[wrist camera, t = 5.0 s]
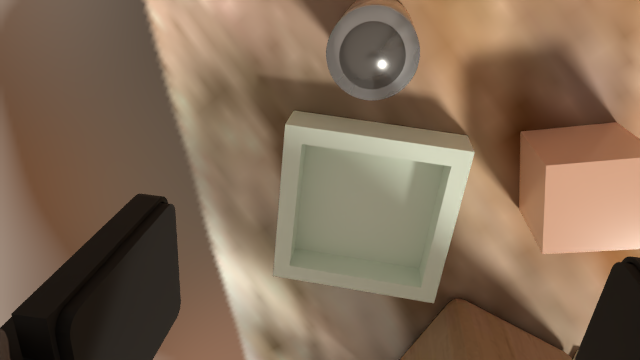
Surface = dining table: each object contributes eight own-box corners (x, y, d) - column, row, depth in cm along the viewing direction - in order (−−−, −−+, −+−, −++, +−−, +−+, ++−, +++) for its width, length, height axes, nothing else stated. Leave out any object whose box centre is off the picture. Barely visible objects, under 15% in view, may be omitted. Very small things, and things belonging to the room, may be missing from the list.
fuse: (344, -10, 25) (330, 0, 20) (420, -1, 25) (429, 13, 19) (334, 66, 27) (320, 95, 21) (405, 76, 27) (410, 109, 21)
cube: (519, 130, 27) (546, 165, 23) (616, 121, 26) (662, 155, 22) (518, 208, 29) (542, 254, 25) (608, 202, 28) (648, 248, 24)
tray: (293, 110, 28) (285, 124, 26) (467, 135, 28) (474, 152, 25) (281, 253, 33) (272, 276, 30) (430, 277, 32) (434, 303, 30)
